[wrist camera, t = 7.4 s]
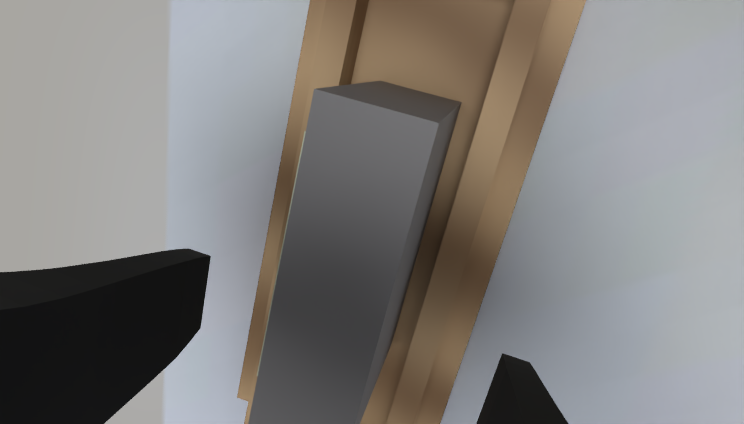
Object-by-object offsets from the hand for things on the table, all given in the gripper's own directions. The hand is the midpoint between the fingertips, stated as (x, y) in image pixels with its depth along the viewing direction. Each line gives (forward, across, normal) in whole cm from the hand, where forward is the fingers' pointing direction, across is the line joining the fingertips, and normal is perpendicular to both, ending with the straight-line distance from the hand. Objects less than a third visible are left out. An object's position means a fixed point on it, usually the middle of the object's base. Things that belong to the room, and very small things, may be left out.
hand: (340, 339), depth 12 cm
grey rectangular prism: (+8, +1, 0) cm, 8 cm away
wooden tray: (+9, +1, 0) cm, 9 cm away
